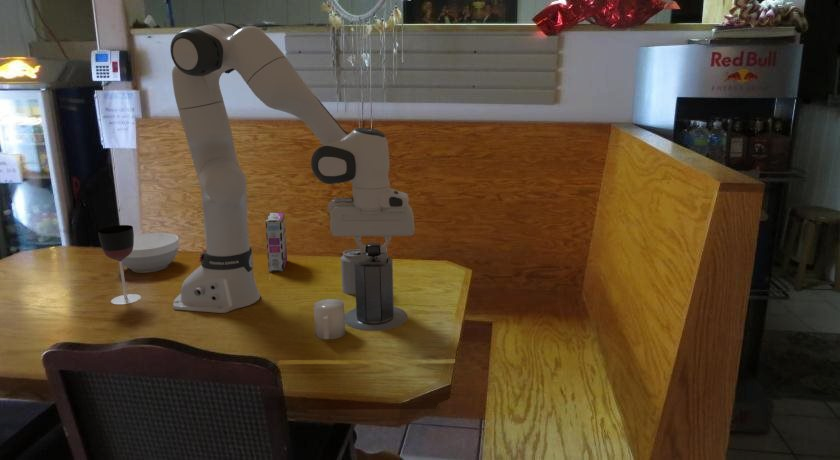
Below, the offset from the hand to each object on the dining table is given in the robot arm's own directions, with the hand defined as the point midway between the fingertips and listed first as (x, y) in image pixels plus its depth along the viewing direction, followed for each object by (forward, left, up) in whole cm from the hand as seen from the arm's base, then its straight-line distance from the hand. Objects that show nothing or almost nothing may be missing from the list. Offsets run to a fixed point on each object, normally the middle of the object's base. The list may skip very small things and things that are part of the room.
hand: (373, 253), depth 150 cm
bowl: (-75, +42, -18) cm, 88 cm away
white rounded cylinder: (-10, -10, -18) cm, 23 cm away
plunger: (0, 0, -11) cm, 11 cm away
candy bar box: (-34, +42, -18) cm, 57 cm away
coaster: (0, 0, -18) cm, 18 cm away
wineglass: (-70, +15, -18) cm, 74 cm away
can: (-7, +19, -18) cm, 27 cm away
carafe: (0, +1, -17) cm, 17 cm away
